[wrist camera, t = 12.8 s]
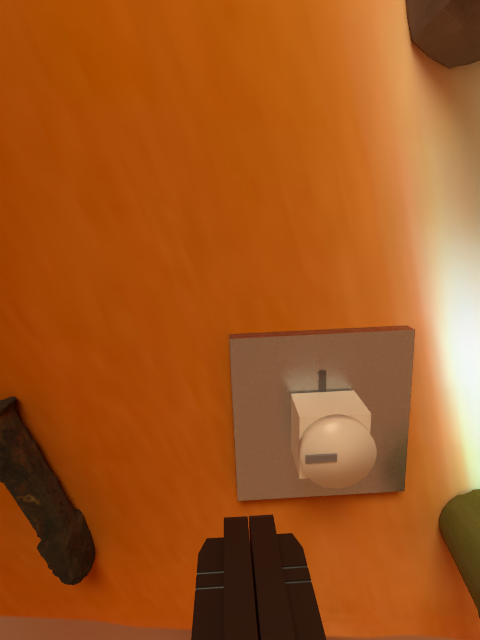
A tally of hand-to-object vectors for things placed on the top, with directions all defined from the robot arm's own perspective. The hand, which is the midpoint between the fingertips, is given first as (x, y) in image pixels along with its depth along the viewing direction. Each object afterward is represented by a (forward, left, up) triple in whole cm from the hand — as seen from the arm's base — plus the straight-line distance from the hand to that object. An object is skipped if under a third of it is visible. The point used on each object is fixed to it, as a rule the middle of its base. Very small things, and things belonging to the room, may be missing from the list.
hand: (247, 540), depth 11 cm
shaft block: (-7, -8, -22) cm, 24 cm away
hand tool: (-13, +18, -22) cm, 32 cm away
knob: (-7, -7, -20) cm, 23 cm away
